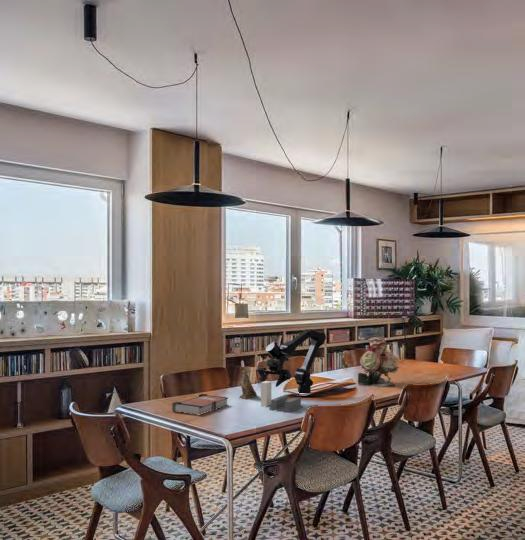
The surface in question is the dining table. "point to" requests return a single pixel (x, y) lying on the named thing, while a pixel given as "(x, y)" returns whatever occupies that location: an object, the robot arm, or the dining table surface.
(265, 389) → the grey block
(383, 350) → the rose bouquet
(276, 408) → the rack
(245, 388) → the worn brown figurine
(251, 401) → the dining table surface
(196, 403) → the book
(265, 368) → the robot arm
